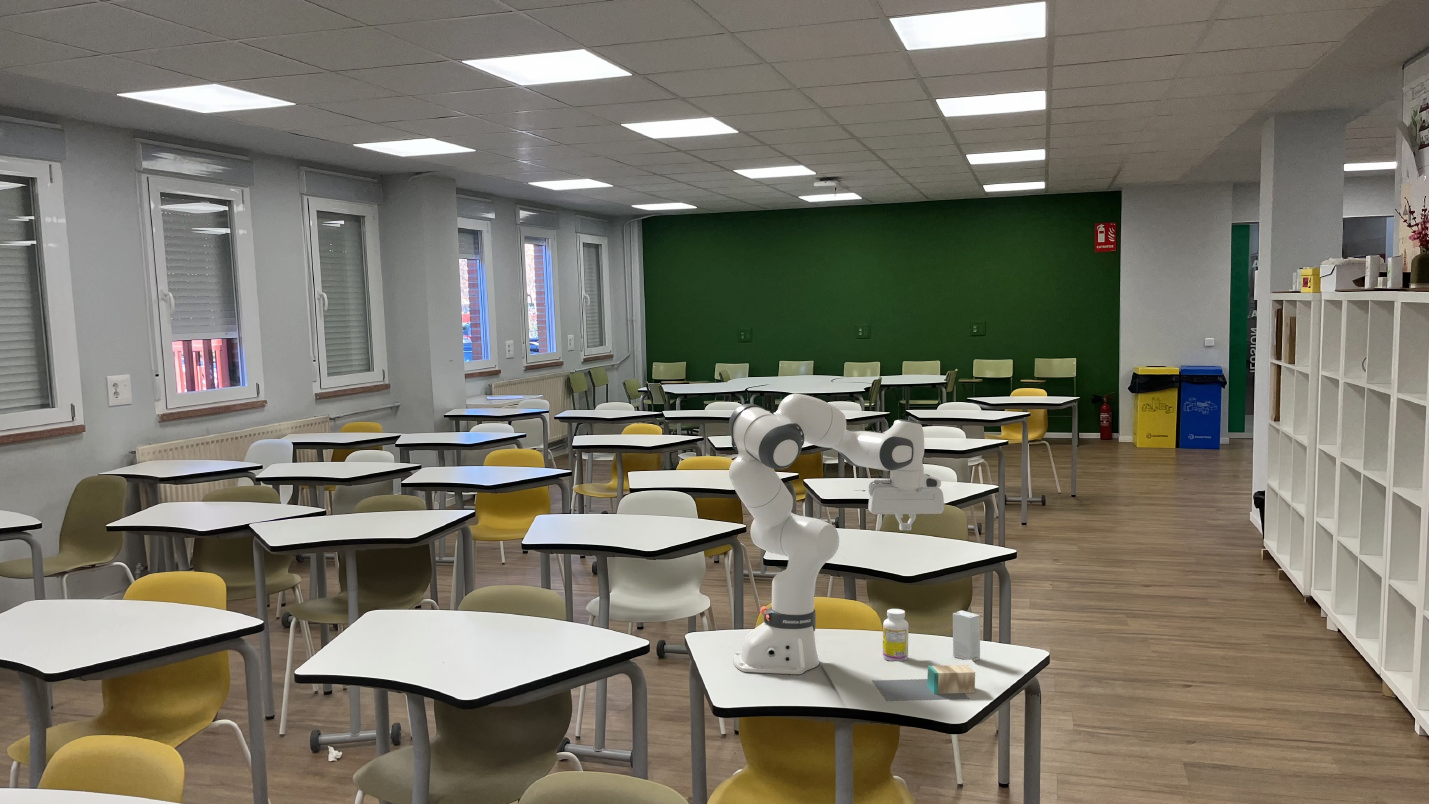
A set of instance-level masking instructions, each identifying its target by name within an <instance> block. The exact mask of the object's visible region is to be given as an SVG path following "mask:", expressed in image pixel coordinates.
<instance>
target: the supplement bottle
mask: <svg viewBox="0 0 1429 804" xmlns="http://www.w3.org/2000/svg"><path fill="white" fill-rule="evenodd" d="M886 611H887V612H886V616H887V618H886V619H884V621H883V624H882V658H884V660H886V661H888V662H893V663H894V662H905V661H907V659H908V658H909V657H908V656H909V627H910V626H909V622H908V621H907V620H906V619H905V617H906V611H905V610H904V609H900V608H890V609H889V608H888V609H887V610H886Z"/></svg>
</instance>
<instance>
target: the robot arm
mask: <svg viewBox="0 0 1429 804" xmlns="http://www.w3.org/2000/svg"><path fill="white" fill-rule="evenodd" d="M923 428H924V427H923V426H922V424H921V423H920V422H918V421H915V420H907V419H895V420H894V422H893V425H891V427H890V428H888V429H887V430H886V431H883V432H876V431H867V430H863V429H851V430H849V429H847V419H846V416H845V414H844V412H843V411H842V410H840V409H839V408H838V407H836V406H834V405H833V404H831V403H830V402H826V401H825V400H822V399H820V398H817V397H814V396H810V395H807V394H801V393H792V394H791V393H790V394H788V395H787V396H785V397H784V398H783V399H782V400H781V402H780V403H779V405H778V407H777V410H776V411H775V412H773V413H772V412H770V411H768V410H766V409H765V408H764V407H762V406H760V405H757V404H753V403H745V404H741V405H739V406H738V407H736V408H735V409H734V411H733V412H732V413H731V415H730V417H729V422H728V430H729V433H730V437H731V447H732V449H733V450H735V451H736V452H737V453H738V454H737V457H735V458H734V459H733V460H732V461H731V464H730V465H729V469H728V476H729V479H730V482H731V485H732V486H733V489H734V490H735V491H734V492H735V493H736V494H737V496H738V497H739V499H740V501H741V502H742V503H743V505H744V506H745V507H746V508H747V510H748V512H749V513H750V515H751V517H752V518H753V521H752V523H751V525H750V538H751V541H752V543H753V545H755V546H756V547H758V548H759V549H761V550H764V551H766V552H767V553H770V554H775V555H780V556H784V557H787V558H788V561H787V566H786V569H784V570H781V571H780V572H778V573H777V574H776V575H775V576H774V577H773V579H772V582H771V607H769V608H767V606H761V608H760V609H759V613H760V614H761V615H762V616H763V622H762V623H761V624H759V625H758V626H756V627H754V629H752V630H751V631H749V632H748V633H747V634H746V635H745V636H744V637H743V641H742V646H741V649H740V650H737V651H735V653H733V656H732V657H733V658H732V662H733V665H734V666H735V667H736V668H737V669H738V670H739V671H741V672H743V673H744V672H745V673H762V674H763V673H764V674H784V675H789V674H790V675H802V674H803V673H805V672H806V671H809V670H812V669H814V668H816V667H817V666H819V664H820V658H819V657H818V656H819V655H818V651H817V647H816V638H815V637H816V636H815V635H816V634H815V631H816V625H817V613H816V609H815V591H816V581H817V578H818V574H819V573H820V570H821V569H822V567H823V566H824V565H825V564H826V563H827V562H829V561H830V560H831V559H832V558H833V557H835V555H836V554H837V552H838V550H839V546H840V535H839V532H838V530H837V528H836V526H834V525H832V524H831V523H828V522H827V521H825V520H822V519H820V518H815V517H810V516H804V515H799V514H795V513H793V512H792V511H793V506H794V498H793V495H792V494H791V492H790V491H789V489H788V488H787V486H786V484H785V483H784V482H783V480H782V479H781V477H780V476H779V475H778V473H777V472H776V471H775V470H778V471H779V470H780V471H781V470H785V469H787V468H790V466H792V464H794V463H795V462H796V460H797V459H798V457H799V456H800V454H801V451H802V449H803V446H804V444H805V442H806V443H808V444H811V445H814V446H817V447H821V448H826V449H827V448H829V449H832V450H833V451H836V452H837V453H839V454H840V455H841V456H842V458H843V459H844V460H845V461H846V462H847V463H848V464H849V465H850V466H851V467H852V466H853V467H857V468H858V467H859V468H860V467H861V468H869V469H875V470H882V471H886V472H887V471H888V472H889V471H890V473H889V474H890V475H889V479H874V480H872V481H871V482H870V483H869V485H868V494H869V499H868V505H867V506H868V507H867V508H868V511H869V512H870V513H871V514H872V515H895V519H896V520H897V522H898V524H899V526H898V529H899V530H900V531H912V525H913V523H914V522H915V520H916V518H917V515H938V514H939V515H940V514H942V513H943V512H944V510H945V499H944V493H943V490H942V489H941V488H940V487H941V486H942V482H941V480H940V479H939V478H937V477H935V476H932V475H930V474H928V473H924V471H925V470H924V469H925V468H924V463H923V458H924V454H925V435H924V429H923ZM904 515H908V517H909V519H908V521H907V522H903V521H902V519H903V518H904Z"/></svg>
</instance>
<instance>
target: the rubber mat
mask: <svg viewBox="0 0 1429 804" xmlns="http://www.w3.org/2000/svg"><path fill="white" fill-rule="evenodd" d="M927 679H928V678H921V679H920V678H918V679H916V678H915V679H914V678H913V679H912V678H911V679H884V680H883V679H881V680H880V679H878V680H874V679H873V680H872V683H873V684H874V686H875V687H876V689H878V691H879V693H880V694H881V696H882V697H883V698H884V700H885V701H886V702H899V701H900V702H902V701H903V702H904V701H905V702H907V701H908V702H909V701H931V700H932V701H935V700H936V701H938V700H939V701H940V700H969V699H971V698H970V697H969V696H968V695H967V693H944V694H934V693H933V692H932V691H931V690H930V689H929V687H928V686H927Z"/></svg>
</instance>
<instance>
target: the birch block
mask: <svg viewBox="0 0 1429 804" xmlns="http://www.w3.org/2000/svg"><path fill="white" fill-rule="evenodd" d="M926 679H927V686H928V687H929V689H930V690H931V691H932V692H933V693H934V694H944V693H965V694H974V693H976V692H975V691H976V690H975V689H976V671H975V670H974V669H973V668H972V667H970V666H969V665H968V664H959V665H958V664H953V665H950V664H949V665H927V678H926Z"/></svg>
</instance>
